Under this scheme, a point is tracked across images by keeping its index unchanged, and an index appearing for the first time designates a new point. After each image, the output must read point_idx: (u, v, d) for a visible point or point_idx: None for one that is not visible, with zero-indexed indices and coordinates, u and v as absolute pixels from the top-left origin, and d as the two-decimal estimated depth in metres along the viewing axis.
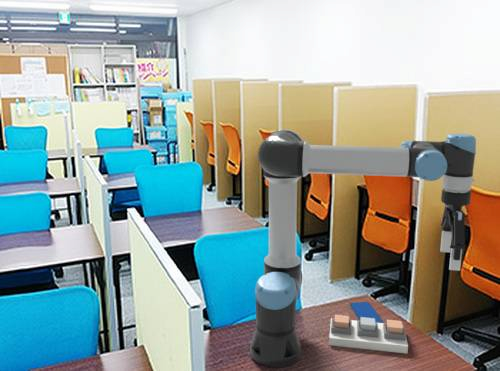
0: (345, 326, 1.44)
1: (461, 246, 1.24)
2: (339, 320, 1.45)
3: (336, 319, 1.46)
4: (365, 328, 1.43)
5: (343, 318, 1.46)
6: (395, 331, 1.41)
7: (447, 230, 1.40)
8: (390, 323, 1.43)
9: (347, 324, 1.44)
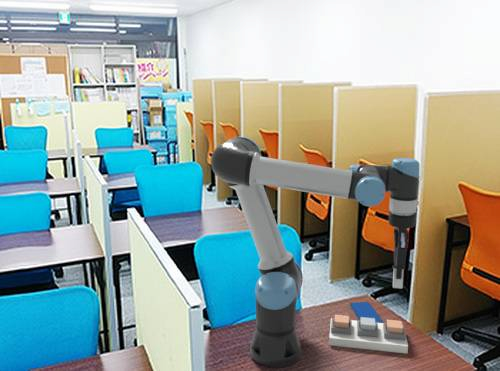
0: (345, 326, 1.44)
1: (401, 268, 1.35)
2: (339, 320, 1.45)
3: (336, 319, 1.46)
4: (365, 328, 1.43)
5: (343, 318, 1.46)
6: (395, 331, 1.41)
7: None
8: (390, 323, 1.43)
9: (347, 324, 1.44)
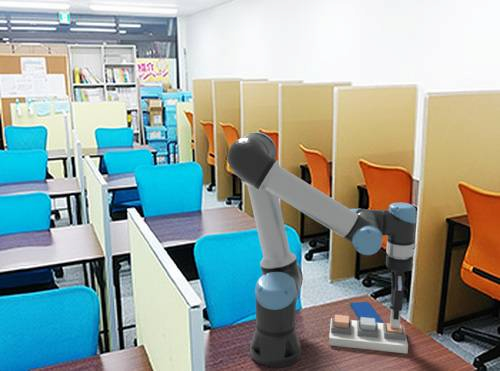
0: (345, 326, 1.44)
1: (398, 309, 1.38)
2: (339, 320, 1.45)
3: (336, 319, 1.46)
4: (365, 328, 1.43)
5: (343, 318, 1.46)
6: None
7: None
8: (389, 327, 1.43)
9: (347, 324, 1.44)
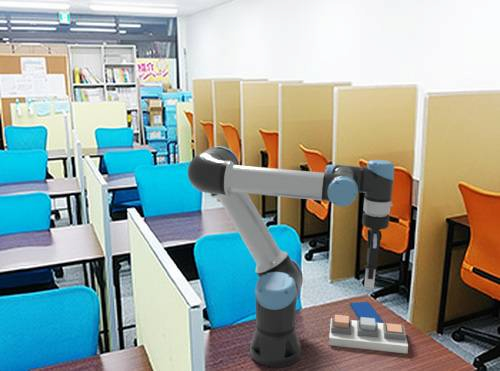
0: (345, 326, 1.44)
1: (373, 268, 1.37)
2: (339, 320, 1.45)
3: (336, 319, 1.46)
4: (365, 328, 1.43)
5: (343, 318, 1.46)
6: None
7: None
8: (389, 327, 1.43)
9: (347, 324, 1.44)
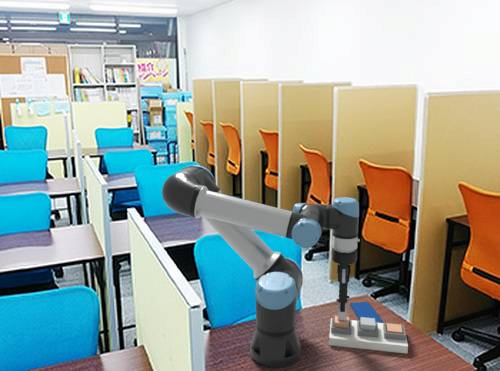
0: (345, 327, 1.44)
1: (344, 302, 1.41)
2: (339, 321, 1.46)
3: (336, 320, 1.46)
4: (365, 328, 1.43)
5: None
6: None
7: None
8: (389, 327, 1.43)
9: (347, 325, 1.44)
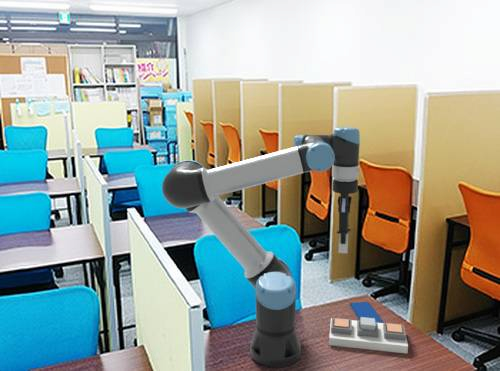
0: None
1: (344, 232, 1.41)
2: (339, 324, 1.46)
3: (336, 323, 1.46)
4: (365, 328, 1.43)
5: (343, 322, 1.47)
6: None
7: None
8: (389, 327, 1.43)
9: None
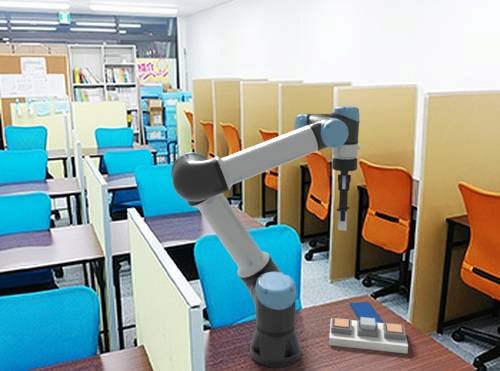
0: None
1: (344, 209, 1.44)
2: (339, 324, 1.46)
3: (336, 323, 1.46)
4: (365, 328, 1.43)
5: (343, 322, 1.47)
6: None
7: None
8: (389, 327, 1.43)
9: None
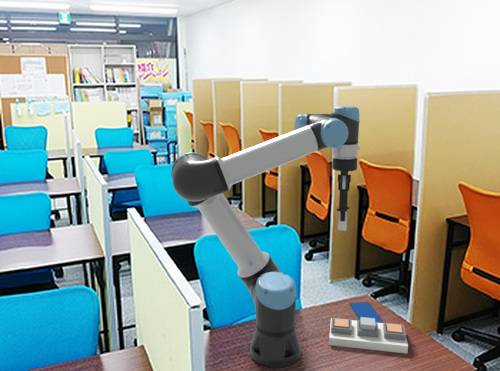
0: None
1: (344, 209, 1.44)
2: (339, 324, 1.46)
3: (336, 323, 1.46)
4: (365, 328, 1.43)
5: (343, 322, 1.47)
6: None
7: None
8: (389, 327, 1.43)
9: None
